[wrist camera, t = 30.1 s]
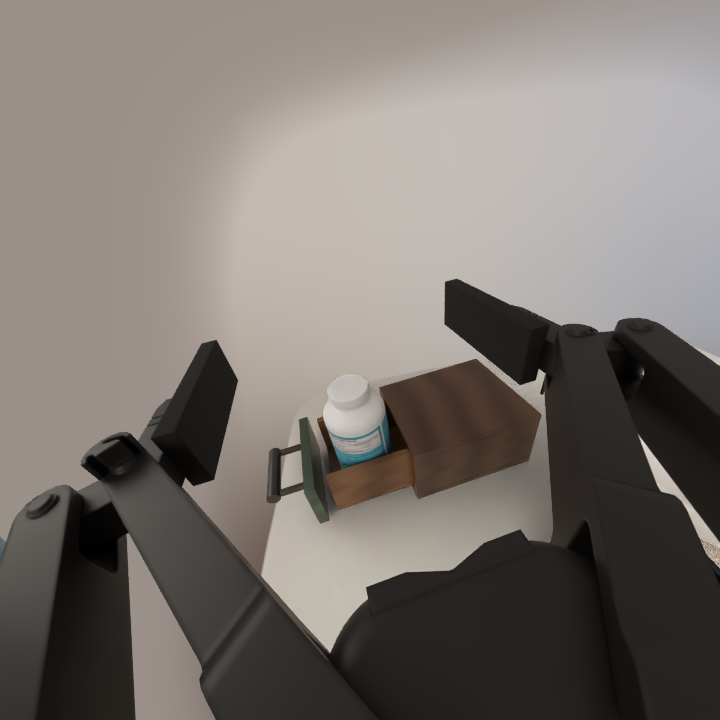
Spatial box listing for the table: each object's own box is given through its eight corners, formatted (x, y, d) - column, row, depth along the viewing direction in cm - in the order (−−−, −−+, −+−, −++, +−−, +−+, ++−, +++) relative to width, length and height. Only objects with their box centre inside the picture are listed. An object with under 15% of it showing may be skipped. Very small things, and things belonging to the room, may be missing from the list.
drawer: (279, 538, 32) (257, 508, 28) (280, 459, 41) (263, 429, 38) (431, 485, 34) (430, 451, 30) (399, 422, 43) (395, 390, 40)
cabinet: (417, 499, 34) (413, 456, 29) (386, 427, 44) (379, 387, 39) (528, 460, 35) (541, 414, 31) (472, 400, 46) (476, 358, 41)
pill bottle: (360, 431, 42) (341, 360, 34) (403, 449, 38) (393, 373, 30) (330, 470, 37) (301, 398, 29) (376, 496, 33) (356, 419, 25)
